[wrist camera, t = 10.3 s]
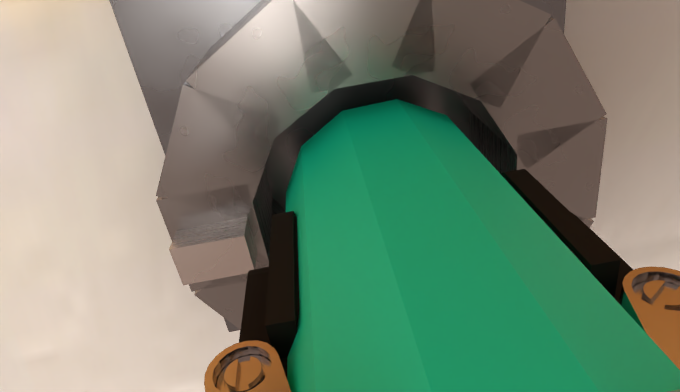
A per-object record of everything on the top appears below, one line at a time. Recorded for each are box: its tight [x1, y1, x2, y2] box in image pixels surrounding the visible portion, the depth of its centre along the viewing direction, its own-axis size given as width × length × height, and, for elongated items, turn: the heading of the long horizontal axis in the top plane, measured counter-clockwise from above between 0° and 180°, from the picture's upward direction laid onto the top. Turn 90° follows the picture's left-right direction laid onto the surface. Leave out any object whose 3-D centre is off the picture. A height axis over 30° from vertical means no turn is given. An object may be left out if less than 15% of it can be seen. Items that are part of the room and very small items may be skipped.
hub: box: [110, 0, 607, 332], centre depth 16 cm, size 14×14×6 cm
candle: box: [286, 99, 680, 392], centre depth 9 cm, size 6×6×12 cm
